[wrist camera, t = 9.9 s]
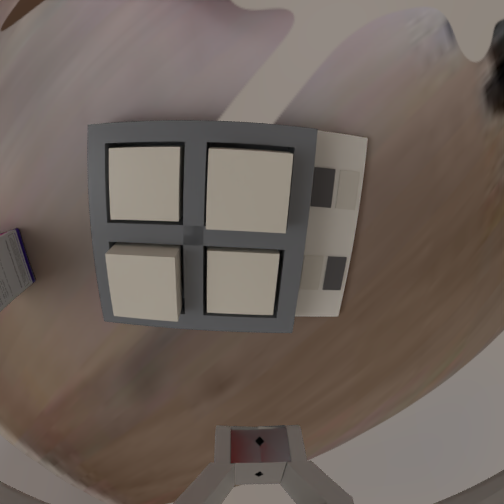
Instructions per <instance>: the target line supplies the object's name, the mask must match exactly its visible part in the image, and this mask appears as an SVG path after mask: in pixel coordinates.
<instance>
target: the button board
mask: <svg viewBox="0 0 504 504" xmlns="http://www.w3.org/2000/svg"><path fill="white" fill-rule="evenodd" d="M367 141H368V138H365V137H359V136H353V135H346V134H340V133H333V132H326V131H318V129H313V128H305V127H296V126H287V125H276V124H264V123H249V122H232V121H201V120H164V121H134V122H117V123H103V124H91V125H88V140H87V163H88V194H89V211H90V224H91V235H92V244H93V253H94V261H95V269H96V276H97V283H98V289H99V295H100V301H101V307H102V312H103V317H104V321H107V322H115V323H124V324H134V325H144V326H155V327H167V328H180V329H194V330H211V331H232V332H263V333H292V330H293V324H294V318H295V316H338V315H339V311H340V307H341V302H342V298H343V293H344V288H345V284H346V279H347V274H348V269H349V264H350V258H351V253H352V248H353V242H354V236H355V231H356V225H357V218H358V212H359V205H360V199H361V191H362V184H363V176H364V168H365V160H366V151H367ZM152 145H185V155H184V190H183V215H182V217H181V219H180V220H179V222H178V221H149V220H112V219H111V217H110V197H109V148H114V147H120V146H152ZM211 147H226V148H245V149H261V150H274V151H286V152H290V153H292V154H293V163H292V175H291V185H290V196H289V206H288V216H287V226H286V233H269V232H250V231H230V230H208V229H206V203H207V176H208V154H209V148H211ZM116 242H129V243H152V244H173V245H181V272H182V301H183V305H182V309H181V312H180V316H179V319H178V322H175V321H162V320H150V319H139V318H129V317H119V316H114V314H113V308H112V302H111V295H110V289H109V281H108V274H107V266H106V257H105V253H106V252H107V251H108V250H109V249H110V248H111V247H112V246H113V245H114V244H115V243H116ZM208 246H216V247H238V248H258V249H278V251H279V254H280V256H279V265H278V274H277V283H276V292H275V301H274V309H273V315H251V314H226V313H207V250H208Z"/></svg>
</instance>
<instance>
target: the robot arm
mask: <svg viewBox="0 0 504 504" xmlns="http://www.w3.org/2000/svg"><path fill="white" fill-rule="evenodd" d="M238 484H280V485H281V486H282V487H283V488H284V490H285V491H286V492H287V493H288V494H289V496H290V497H291V498H292V499H293V500H294V501H295V502H296V504H354V503H353V499H352V497H351V496H350V495H349V494H348V493H346V492H345V491H344V490H343V489H342V488H341V487H340V486H338V485H337V484H336V483H335V482H334V481H333V480H332V479H331V478H329V477H328V476H327V475H326V474H325V473H324V472H323V471H322V470H321V469H320V468H318V467H317V466H316V465H315V464H314V463H313V462H312V461H307V458H306V452H305V447H304V442H303V437H302V432H301V427H300V426H299V425H289V426H285V425H282V426H258V427H241V426H231V429H230V426H216V433H215V455H214V463H209V465H208V466H207V467H206V468H205V469H204V470H203V471H202V472H201V474H200V475H199V476H198V477H197V478H196V479H195V480H194V481H193V482H192V484H191V485H190V486H189V487H188V488H187V489H186V490H185V491H184V492H183V493H182V494H181V495H180V497H179V498H178V499H177V500H176V501H175V502H174V503H173V504H222V502H223V501H224V500H225V498H226V497H227V495H228V494H229V493H230V491H231V490H232V488H233V487H234V485H238ZM0 504H49V503H46V502H43V501H41V500H39V499H36V498H34V497H32V496H30V495H27V494H25V493H23V492H21V491H19V490H16V489H15V488H13V487H10V486H8V485H6V484H4V483H3V482H1V481H0ZM434 504H504V470H503V471H501V472H499V473H497V474H496V475H494V476H492V477H490V478H488V479H487V480H485V481H483V482H481V483H479V484H477V485H475V486H473V487H471V488H469V489H467V490H464V491H462V492H460V493H458V494H456V495H453V496H451V497H449V498H446V499H444V500H442V501H439V502H437V503H434Z"/></svg>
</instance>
